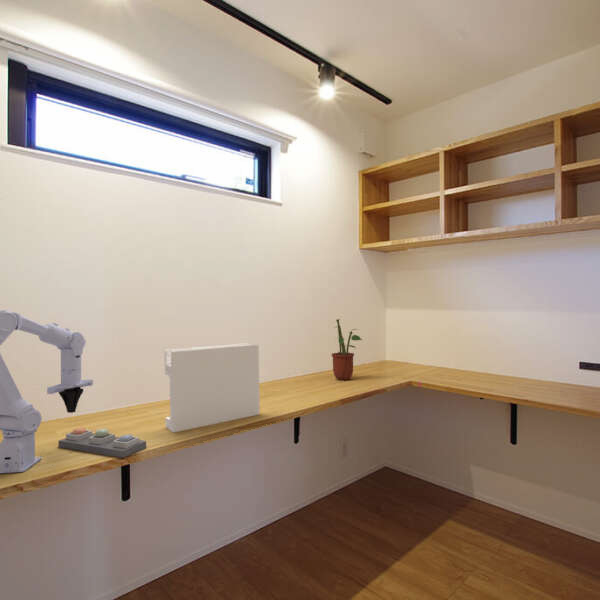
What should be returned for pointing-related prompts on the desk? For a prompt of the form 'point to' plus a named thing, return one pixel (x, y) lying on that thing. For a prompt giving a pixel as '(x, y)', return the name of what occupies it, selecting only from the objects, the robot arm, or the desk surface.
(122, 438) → the slate button
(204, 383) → the block
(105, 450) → the button panel
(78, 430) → the terracotta button
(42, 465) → the desk surface
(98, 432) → the sage button
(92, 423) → the desk surface
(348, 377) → the potted plant
